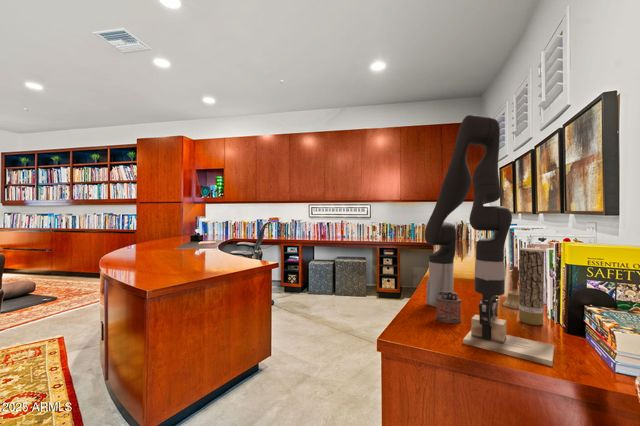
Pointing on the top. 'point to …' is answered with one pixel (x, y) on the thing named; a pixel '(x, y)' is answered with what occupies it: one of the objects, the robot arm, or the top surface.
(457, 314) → the lighter
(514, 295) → the hand bell
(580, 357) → the top surface
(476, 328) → the beige rectangular block
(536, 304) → the bark textured post
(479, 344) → the birch board
